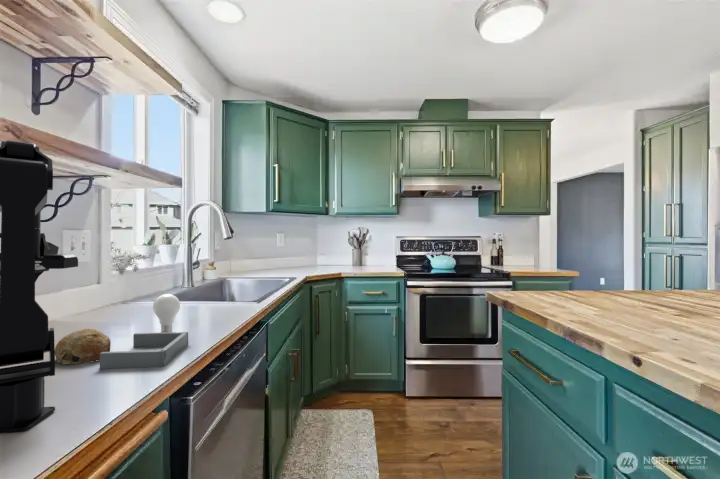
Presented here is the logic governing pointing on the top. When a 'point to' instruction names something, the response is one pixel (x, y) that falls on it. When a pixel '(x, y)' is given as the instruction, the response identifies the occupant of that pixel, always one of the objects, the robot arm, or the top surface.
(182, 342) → the grey u-shaped frame
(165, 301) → the lightbulb
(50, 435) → the top surface
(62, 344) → the bread roll
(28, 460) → the top surface
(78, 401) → the top surface
